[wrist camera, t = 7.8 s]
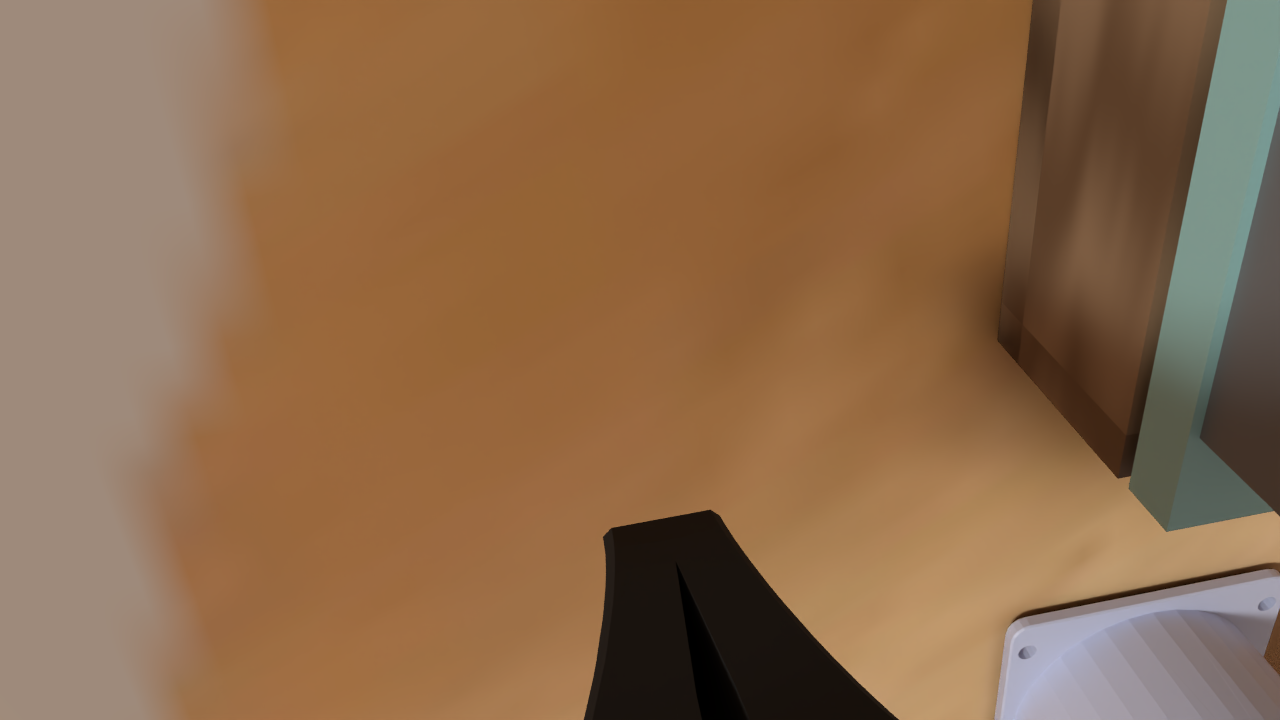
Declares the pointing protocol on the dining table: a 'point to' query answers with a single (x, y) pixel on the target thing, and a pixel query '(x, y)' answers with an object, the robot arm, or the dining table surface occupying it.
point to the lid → (1223, 301)
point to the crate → (1103, 202)
